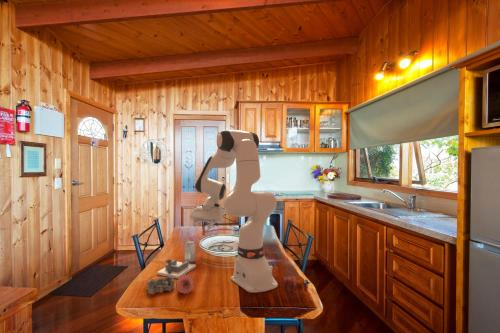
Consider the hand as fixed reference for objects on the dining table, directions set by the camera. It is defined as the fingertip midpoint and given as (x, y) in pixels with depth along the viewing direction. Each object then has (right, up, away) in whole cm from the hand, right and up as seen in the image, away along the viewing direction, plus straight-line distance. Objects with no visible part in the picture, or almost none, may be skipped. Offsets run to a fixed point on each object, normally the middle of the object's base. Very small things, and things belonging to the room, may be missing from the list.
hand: (201, 227), depth 150 cm
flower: (+1, -16, -43) cm, 46 cm away
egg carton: (-9, -17, -41) cm, 45 cm away
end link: (-4, -16, -11) cm, 19 cm away
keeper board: (-8, -16, -23) cm, 29 cm away
